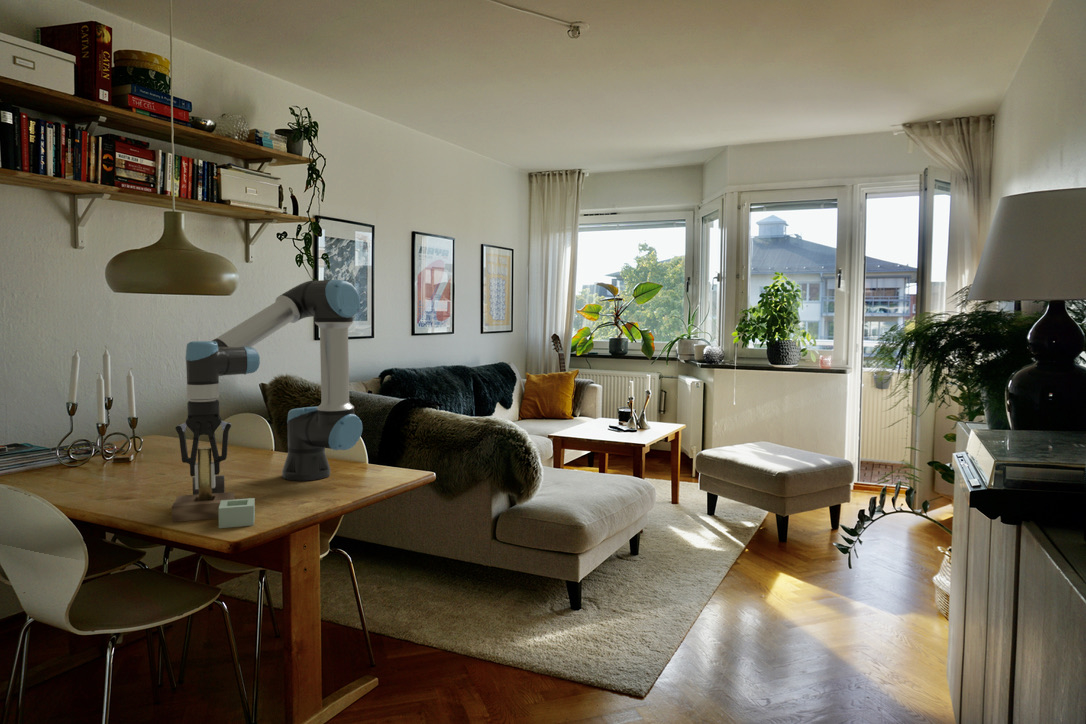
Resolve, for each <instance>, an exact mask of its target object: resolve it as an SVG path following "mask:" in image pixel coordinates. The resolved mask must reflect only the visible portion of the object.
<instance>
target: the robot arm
mask: <svg viewBox="0 0 1086 724" xmlns="http://www.w3.org/2000/svg"><path fill="white" fill-rule="evenodd" d="M358 291H359V290H357V288H356V287H355V286H354V285H353V283H350V282H349V281H347V280H342V279H325V280H324V279H322V280H318V279H315V280H308V281H307V280H306V281H304V282H302V283H300V284H298V285H296V286H294V287H292V288H291V289H288V290H287V291H285V292H284V293H282V294H280V295H278V296H277V297H276V298H275V302H274V303H272V304H270V305H269V306H267V307H265V308H263V309H262V310H260V311H259V312H256V313H255V314H254V315H252V316H250V317H249V318H247V319H245V320H244V321H242V322H241V323H239V324H237V325H235V326H234V327H232V328H231V329H229V330H227V331H226V332H224V333H222V334H221V335H219V336H217V337H216V338H214V339H212V340H204V341H203V340H198V341H196V340H195V341H194V340H193V341H189V342H188V343H187V344H186V349H185V365H186V366H185V367H186V397H187V398H186V399H188V400H189V401H188V402H186V403H187V406H186V407H187V418H186V419H185V422H184V423H181V424H177V425H176V426H175V430H176V432H177V434H178V438H179V440H178V441H179V447H180V456H181V462H182V463H185V464H188V465H189V473H190V475H189V476H190V477H195V489H199V475H198V462H196V461H197V458H198V449H199V443H200V437H201V436H205V435H206V436H208V440H209V444H210V448H211V456H212V460H213V461H212V463H211V487H212V488H215V486H216V484H215V476H217V475H220V472H221V466H220V464H221V462H223V461H225V460H227V457H228V446H229V431H230V430H231V427H232V423H231V422H226V421H224V420H223V419H222V418H221V415H220V400H219V397H220V388H219V387H220V385H219V383H220V382H219V380H220V379H219V378H220V377H221V376H222V377H223V376H237V375H249V374H253V373H255V372H257V370H259V368H260V365H261V360H260V359H261V358H260V354H259V352H258V350H257V349H255V348H254V347H253V346H255V345H257V344H258V343H260V342H262V341H264V340H265V339H266V338H268V337H269V336H271V335H273V334H274V333H275V332H277V331H279V330H280V329H281V328H283V327H284V326H286V325H288V324H289V323H291V324H293V323H294V324H295V323H297V322H299V321H300V320H302V319H306V318H311V317H314V324H315V325H316V326H318V328H319V343H320V344H319V346H320V347H319V350H320V352H319V355H320V395H321V396H320V398H321V402H320V404H319V405H318V406H307V407H297V408H292V409H290V410H289V411H288V413H287V419H286V423H287V428H286V429H287V455H286V458H285V462H284V465H283V467H282V472H281V473H282V474H281V475H282V479H284V480H286V481H296V482H299V481H301V482H302V481H315V480H321V479H325V478H328V477H330V476H331V467H330V463H329V461H328V457H327V454H326V450H325V449H331V450H333V451H348V450H350V449H352V448H354V446H356V445H357V442H359V440H360V438H361V436H362V433H363V423H362V422H363V421H362V420H361V419H360V417H359V416H357V415H356V414H355V406H354V405H353V404H352V403H351V402H350V373H349V371H350V370H349V365H350V364H349V363H350V362H349V361H350V360H349V359H350V358H349V327H350V326H351V325H352V324H353V323H354V322H353V321H354V320H353V319H354V318H353V317H354V316H356V314H358V311H359V310H360V308H361V298H360V294H359V292H358ZM219 426H220V427H221V430H222V431H223V432H222V442H221V443H222V444H221V455H220V453H219V448H218V444H217V439H216V434H215V432H216V431H217V429H218V428H219ZM187 428H188V429H189V430H190V431H191V433H193V437H192V438H193V439H192V444H191V452H190V457H189V455H188V446H187V437H186V436H187V435H186V431H187Z"/></svg>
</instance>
